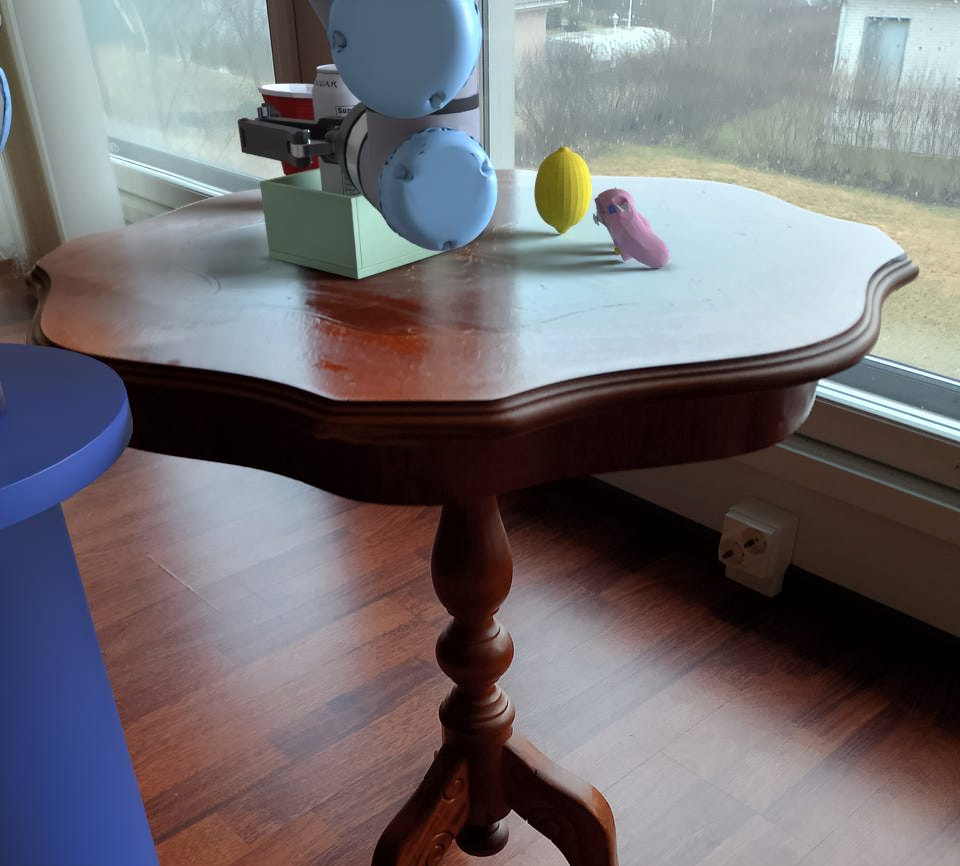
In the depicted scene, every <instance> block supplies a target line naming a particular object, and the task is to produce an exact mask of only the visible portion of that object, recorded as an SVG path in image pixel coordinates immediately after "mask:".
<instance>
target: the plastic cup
mask: <svg viewBox="0 0 960 866" xmlns="http://www.w3.org/2000/svg"><path fill="white" fill-rule="evenodd" d="M313 85H314V83H270V84H262V85H259V86H257V90H258V93H260V94H261V97H262V100H263V103H270V104H271V105H272V106H273V107H274V108H275V109H276V110H277V111H278V112H279V113H280V117H281V118H291V119H302V120H313V121H315V118H314V108H313V98H312V88H313ZM312 158H313V163H311V164H310V167H308V168H306V169H300V168H297V167H295V166H293V165H292V164H290V163H286V162H282V161H280V164H281V167H282V171H283V174H284V176H286V175H291V174H295V173H300V172H304V171H309V170H313V169H318V168H320V166H319V156H312Z"/></svg>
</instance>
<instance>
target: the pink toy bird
mask: <svg viewBox="0 0 960 866" xmlns="http://www.w3.org/2000/svg"><path fill="white" fill-rule="evenodd" d="M593 200H594V204H595V209H596V213H595V212H594V213H592V220H593V222H594V224H596V225H597V226H598V227H599V226H600V224H601V225H603V226H604V227H605V228H606V230H607V231H608V233H609V236H610V238H611V240H612V242H613V244H614V246H615V247H614V248H613V252H614V254H615V255H616V256H617V257H618V256H620V257H621V259H622V261H623V262H624V263H626V262H627V261H629V260H631V259H634V260H636V261H637V262H639V263H641V264H643V265H645V266H646V267H650V268H653V269H661V268H664V267H665V266H667V265H668V264H669V262H670V259H671V255H670V254H671V252H670V249H669V247H668V246H667V244H666V242H665V241H664V240H663V239H661V238H660V237H659V236H658V235H657V234H656V233H655V232H653V227H652V226H651V224H650V222H649V220H647V219H646V217H645V216H643V215H642V214H641V213H640V212H638V211H637V209H636V208H635V200H634V197H633V196H632V195H631V193H630V192H628V191H627V190H624V189H621V188H617V187H614V188H609V189H606V190H604V191H602V192H600V193H599V194H598V195H597V196H596V197H595V198H594V199H593Z"/></svg>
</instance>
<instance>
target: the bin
mask: <svg viewBox="0 0 960 866" xmlns="http://www.w3.org/2000/svg"><path fill="white" fill-rule="evenodd" d="M259 186H260V187H259V188H260V195H261V201H262V209H263V217H264V225H265V233H266V240H267V247H268V254H269V258H270V259H273V260H274V259H275V260H278V261H282V262H286V263H290V264H294V265H299V266H302V267H306V268H310V269H315V270H319V271H323V272H326V273H331V274H335V275H339V276H343V277H346V278H351V279H354V280H361V279H364V278H367V277H370V276H372V275H373V276H374V275H376V274H379V273H383V272H386V271H390V270H392V269H395V268H399V267H401V266H406V265H407V264H411V263H414V262H417V261H421V260H424V259H426V258H430V257H434V256H436V255H439V254H442V253H445V252H448V251H450V250H448V251H445V252H444V251H432V250H427V249H424V248H421V247H419V246H417V245H415V244H413V243H411V242H409V241H408V240H406V239H404V238H402V237H400V236H399V235H398V233H395V232H394V231H392V230H391V228H390V227H389V226H388V225H387V223H386V221H385V220H384V218H383V217H382V215H381V214H380V212H378V211H377V209H375V208H374V207H373V206H372V205H371V204H370V203H369V202H368V201H367V200H366V198H365V197H363V196H362V195H361V194H359V195H355V196H352V197H351V196H346V195H340V194H335V193H329V192H324V191H322V186H321V176H320V168H318V169H313V170H309V171H304V172H300V173H295V174H291V175H286V176H285V175H282V176H279V177H273V178H269V179H265V180H260V181H259Z"/></svg>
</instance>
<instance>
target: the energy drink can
mask: <svg viewBox="0 0 960 866" xmlns="http://www.w3.org/2000/svg"><path fill="white" fill-rule="evenodd" d="M316 73H317V74H316V78H315V80H314V83H313V84H314V85H313V88H312V98H313V108H314V118H315V121H319V119H320V118H323V117H328V116H342V117H346V115H347V114H348V113H349V111H350V110H351V109H352V108H353V107H354V106H355V105H357V104H358V103H359V102H360V101H359V100H358V99H357V98H356V97H355V96H354V95H353V94H352V93H351V92H350V90H349V89H348V88H347V86H346V85H345V84H344V82H343V80H342V79H341V77H340V75H339V73H338V71H337V69H336V66H335V64H334V63H332V64H331V63H330V64H324V65H319V66H317V67H316ZM338 127H340V126H335V129H336V128H338ZM319 166H320V176H321V186H322V191H324V192H329V193H335V194H340V195H346V196H351V197H352V196H355V195H359V194H360V193H359V192H358V191H357V190H356V189H355V188H354V187H353V186H352V185H351V184H350V183H349V181H348V180H347V179H346V177H345V175H344V174H343V172H342V170H341V168H340V166H339V165H336V164H328V163H324V162H323V160H322V158H321V157H320V156H319Z"/></svg>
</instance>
